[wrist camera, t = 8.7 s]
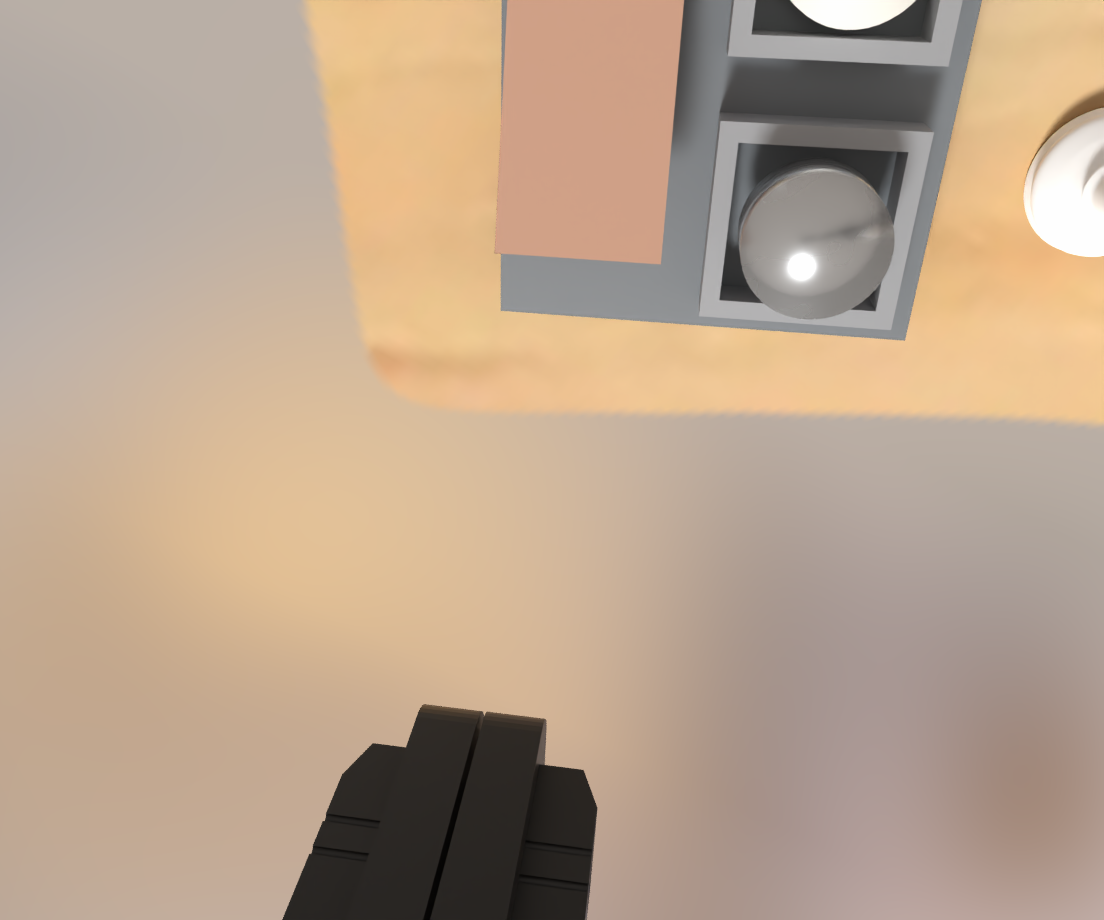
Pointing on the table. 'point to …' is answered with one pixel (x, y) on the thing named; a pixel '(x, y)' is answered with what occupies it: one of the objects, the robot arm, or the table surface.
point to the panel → (777, 160)
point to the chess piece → (1070, 187)
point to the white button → (851, 12)
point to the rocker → (587, 128)
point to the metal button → (814, 239)
